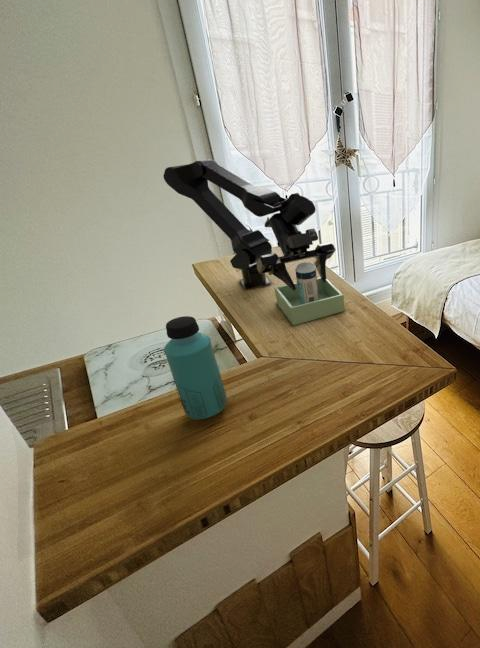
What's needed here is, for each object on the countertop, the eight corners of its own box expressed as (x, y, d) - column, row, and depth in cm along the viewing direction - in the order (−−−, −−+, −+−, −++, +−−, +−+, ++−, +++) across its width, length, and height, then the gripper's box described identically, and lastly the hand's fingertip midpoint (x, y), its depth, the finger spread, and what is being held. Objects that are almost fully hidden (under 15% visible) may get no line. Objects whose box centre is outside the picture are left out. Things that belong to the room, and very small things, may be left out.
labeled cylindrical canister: (322, 302, 110) (318, 263, 104) (314, 310, 105) (309, 270, 100) (306, 300, 110) (301, 260, 105) (296, 308, 106) (290, 268, 100)
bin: (276, 303, 108) (274, 287, 106) (325, 291, 116) (324, 276, 114) (293, 325, 99) (290, 308, 97) (344, 310, 108) (343, 294, 106)
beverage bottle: (238, 407, 74) (215, 316, 65) (203, 432, 68) (174, 336, 60) (212, 396, 76) (187, 306, 67) (176, 420, 70) (143, 325, 61)
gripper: (253, 225, 93) (278, 283, 92) (329, 214, 106) (353, 265, 105) (246, 246, 101) (270, 300, 100) (318, 233, 114) (340, 281, 113)
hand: (310, 285), depth 104 cm, fingers open, 8 cm apart
